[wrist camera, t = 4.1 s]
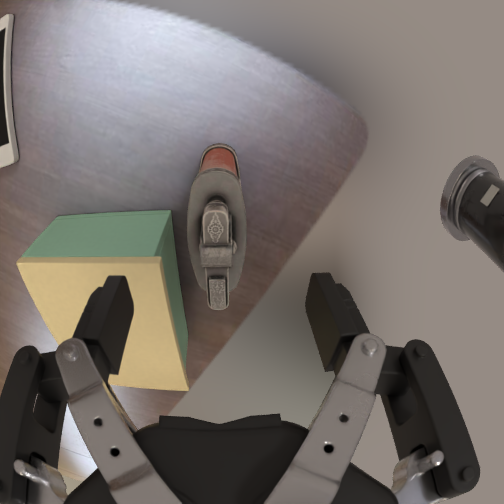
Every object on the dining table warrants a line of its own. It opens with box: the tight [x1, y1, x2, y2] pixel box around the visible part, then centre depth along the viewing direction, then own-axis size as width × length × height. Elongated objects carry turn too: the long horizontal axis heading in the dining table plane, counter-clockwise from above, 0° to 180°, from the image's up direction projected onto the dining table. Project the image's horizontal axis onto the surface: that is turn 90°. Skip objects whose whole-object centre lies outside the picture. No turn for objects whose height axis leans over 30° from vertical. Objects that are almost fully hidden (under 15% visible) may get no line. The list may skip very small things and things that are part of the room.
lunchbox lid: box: [16, 257, 189, 391], centre depth 20 cm, size 12×16×1 cm
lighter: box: [187, 143, 247, 310], centre depth 18 cm, size 8×3×10 cm, turn 178°
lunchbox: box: [21, 210, 188, 368], centre depth 23 cm, size 12×16×7 cm
